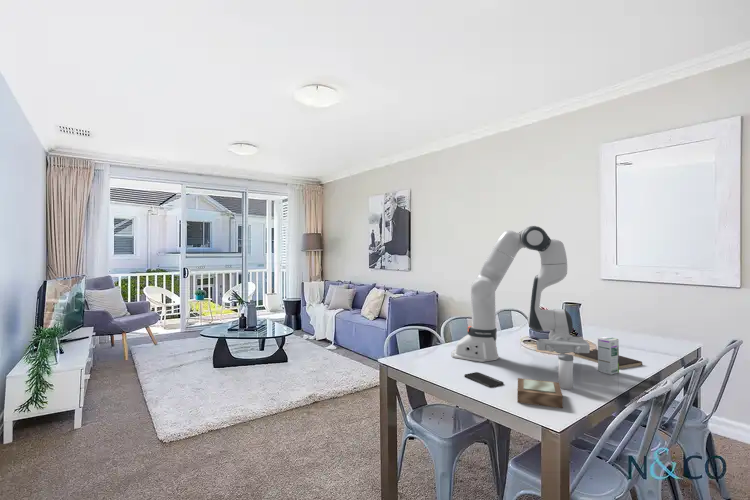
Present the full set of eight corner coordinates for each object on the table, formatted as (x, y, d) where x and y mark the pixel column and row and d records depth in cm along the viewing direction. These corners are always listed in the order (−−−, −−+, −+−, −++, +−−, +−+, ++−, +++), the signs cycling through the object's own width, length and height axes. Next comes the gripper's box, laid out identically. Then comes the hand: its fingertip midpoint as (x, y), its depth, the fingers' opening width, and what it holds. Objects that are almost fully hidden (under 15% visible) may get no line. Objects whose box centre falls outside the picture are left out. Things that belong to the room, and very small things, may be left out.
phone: (477, 371, 165) (504, 382, 152) (477, 374, 165) (504, 385, 152) (463, 374, 162) (489, 386, 148) (463, 377, 162) (489, 388, 148)
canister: (558, 388, 148) (558, 356, 148) (557, 384, 153) (557, 353, 153) (574, 390, 146) (574, 358, 146) (572, 385, 151) (572, 354, 151)
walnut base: (517, 402, 135) (517, 389, 135) (517, 388, 148) (517, 377, 148) (562, 408, 130) (562, 394, 130) (558, 393, 143) (558, 381, 143)
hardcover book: (618, 370, 172) (618, 365, 172) (573, 357, 193) (573, 352, 193) (642, 366, 178) (642, 361, 178) (596, 353, 199) (596, 349, 199)
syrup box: (611, 375, 164) (611, 340, 164) (597, 371, 169) (597, 337, 169) (619, 373, 167) (619, 338, 167) (605, 369, 172) (605, 336, 172)
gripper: (535, 334, 177) (536, 341, 164) (586, 337, 170) (591, 344, 157) (535, 348, 177) (536, 356, 164) (586, 351, 170) (592, 360, 157)
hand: (564, 350), depth 160 cm, fingers open, 8 cm apart
